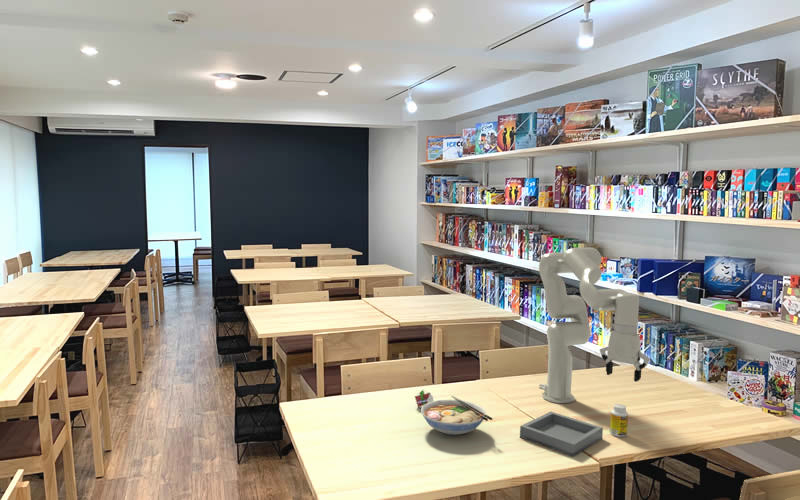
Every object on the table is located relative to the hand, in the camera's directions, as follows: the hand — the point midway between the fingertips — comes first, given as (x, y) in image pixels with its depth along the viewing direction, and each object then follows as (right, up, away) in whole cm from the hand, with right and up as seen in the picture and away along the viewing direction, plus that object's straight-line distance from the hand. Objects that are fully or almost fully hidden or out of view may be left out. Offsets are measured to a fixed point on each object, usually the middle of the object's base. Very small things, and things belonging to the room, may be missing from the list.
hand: (622, 377), depth 202 cm
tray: (-22, -20, -2) cm, 30 cm away
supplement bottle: (-1, -21, +2) cm, 21 cm away
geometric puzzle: (-68, -17, +24) cm, 74 cm away
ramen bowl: (-59, -19, +2) cm, 62 cm away
